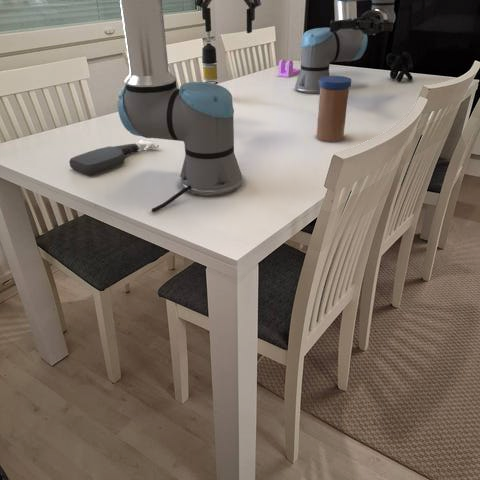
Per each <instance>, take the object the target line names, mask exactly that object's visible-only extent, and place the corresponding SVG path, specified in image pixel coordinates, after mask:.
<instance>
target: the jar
mask: <svg viewBox="0 0 480 480" xmlns="http://www.w3.org/2000/svg"><path fill="white" fill-rule="evenodd" d="M349 91H350V88H347V89H341V90H332V89H325V88H321V87H320V94H319V99H318V112H317V125H316V139H317V140H319V141H320V142H326V143H336V142H340V141H343V140H344V136H345V128H346V127H345V126H346V117H347V108H348V101H349V100H348V99H349Z"/></svg>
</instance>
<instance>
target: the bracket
mask: <svg viewBox="0 0 480 480" xmlns="http://www.w3.org/2000/svg"><path fill="white" fill-rule="evenodd" d="M300 71H301V68H297V67H296V68H295V67H294V62H293V60H289V59H288V60H287V62H286V60H285V59H279V61H278V74H277V75H278V77H284V78H290V77H293V76H296V75H299V74H300Z"/></svg>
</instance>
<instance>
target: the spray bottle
mask: <svg viewBox="0 0 480 480" xmlns="http://www.w3.org/2000/svg"><path fill="white" fill-rule="evenodd" d="M159 148H160V145H159V144H158V143H155V142H151V141H148V140H144V139H139V140H138V141H137V142H135V143H129V144H128V143H126V144H122V145H113V146H105V147H100V148H97V149H94V150H90V151H87V152H83V153H81V154H78V155H74V156H73V157H70V159H69V161H68V162H69V167H70V168H71V169H72V170H74V171H75V172H78V173H81V174H83V175H85V176H89V177H90V176H91V177H92V176H95V175H99V174H102V173H105V172H107V171H110V170H113V169H116V168H118V167H120V166H122V165H123V164H124V163H125V158H126V156H127V155H131V154H133V153H138V151H140V150H143V151H144V152H146V151H147V150H149V149H159Z"/></svg>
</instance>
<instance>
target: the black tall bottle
mask: <svg viewBox="0 0 480 480" xmlns="http://www.w3.org/2000/svg"><path fill="white" fill-rule="evenodd" d="M205 33H206V39H207V40H206V42H207V43H206V45H204V46H202V49H201V50H202V51H201V52H202V54H201V55H202V57H201V58H202V61H201V63H202V71H203V72H202V73H203V74H202V75H203V80H204V81H206V82H207V83H214V84H217V85H218V84H219V82H218V81H216V80H218V64H216V63H218V61H217V48H216V47H215V46H214V45H212V43H210V42H211V40H210V39H211V31H210V32H206V31H205Z"/></svg>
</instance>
